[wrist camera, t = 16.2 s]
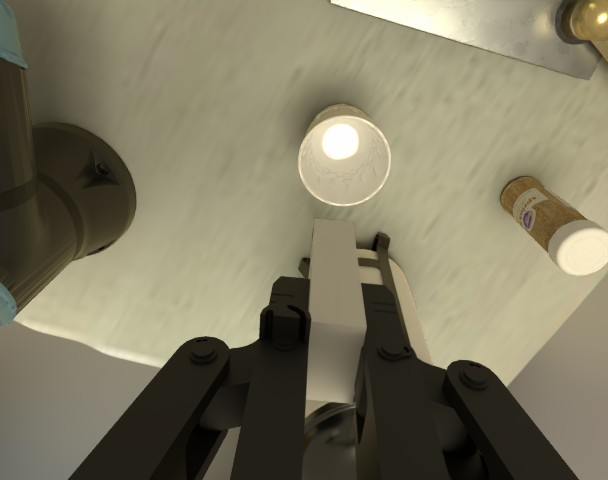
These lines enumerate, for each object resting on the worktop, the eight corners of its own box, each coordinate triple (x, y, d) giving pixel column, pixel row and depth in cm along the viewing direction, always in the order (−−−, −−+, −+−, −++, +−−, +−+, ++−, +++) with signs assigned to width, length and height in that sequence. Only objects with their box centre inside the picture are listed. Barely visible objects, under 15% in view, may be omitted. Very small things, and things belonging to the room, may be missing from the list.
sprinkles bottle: (499, 180, 47) (558, 234, 35) (543, 172, 46) (619, 224, 34) (500, 218, 49) (557, 281, 37) (542, 210, 48) (614, 272, 36)
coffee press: (447, 255, 51) (579, 508, 24) (375, 346, 58) (417, 625, 31) (318, 188, 48) (308, 394, 21) (258, 293, 55) (193, 550, 28)
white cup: (288, 139, 46) (278, 167, 37) (338, 80, 43) (341, 94, 34) (342, 186, 48) (346, 223, 39) (394, 132, 45) (411, 159, 36)
